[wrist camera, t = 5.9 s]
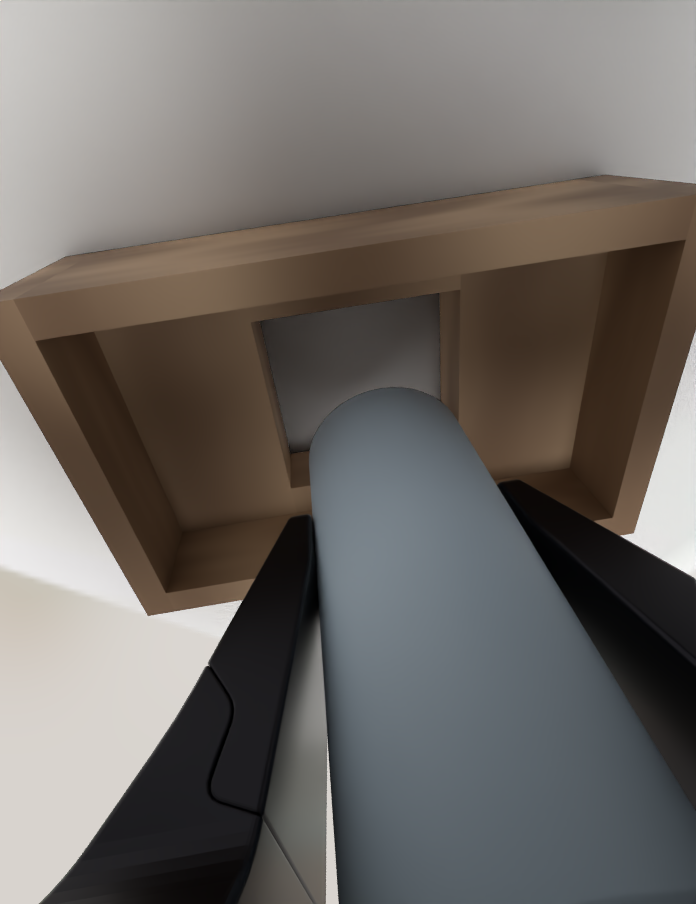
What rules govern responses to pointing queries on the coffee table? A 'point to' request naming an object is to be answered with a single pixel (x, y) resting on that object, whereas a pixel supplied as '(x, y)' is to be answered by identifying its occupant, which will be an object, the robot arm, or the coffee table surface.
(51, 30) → the coffee table surface
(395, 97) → the coffee table surface
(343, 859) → the peg
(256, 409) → the caddy
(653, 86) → the coffee table surface
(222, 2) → the coffee table surface
